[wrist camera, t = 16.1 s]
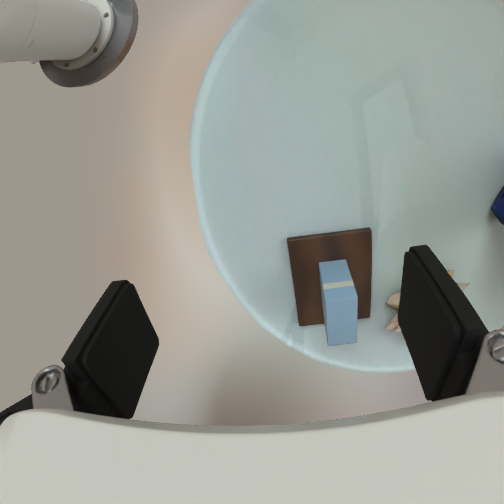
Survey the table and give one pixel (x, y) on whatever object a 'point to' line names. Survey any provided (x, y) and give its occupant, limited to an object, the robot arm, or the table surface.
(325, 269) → the box
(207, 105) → the table surface
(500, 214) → the book
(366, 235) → the brown wooden board
